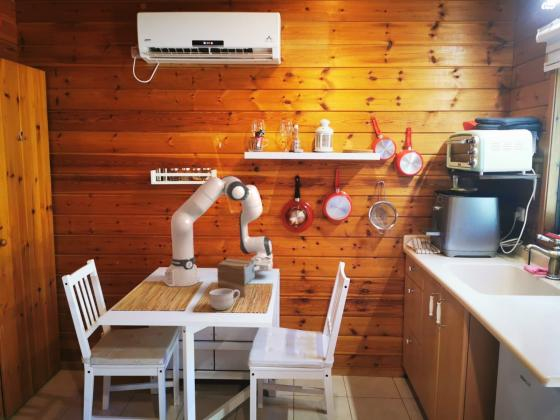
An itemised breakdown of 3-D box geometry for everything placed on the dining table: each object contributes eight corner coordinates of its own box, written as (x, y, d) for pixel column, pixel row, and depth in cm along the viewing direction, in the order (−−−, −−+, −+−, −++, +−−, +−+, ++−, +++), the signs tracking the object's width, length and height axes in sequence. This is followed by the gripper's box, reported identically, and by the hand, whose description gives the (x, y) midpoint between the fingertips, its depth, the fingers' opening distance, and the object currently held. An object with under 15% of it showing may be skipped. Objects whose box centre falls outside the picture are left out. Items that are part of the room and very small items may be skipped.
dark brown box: (228, 287, 231) (228, 258, 229) (254, 289, 227) (253, 260, 225) (218, 294, 220) (217, 264, 218) (244, 297, 215) (243, 266, 213)
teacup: (210, 313, 195) (209, 295, 194) (209, 305, 206) (208, 288, 204) (242, 310, 198) (241, 293, 197) (239, 302, 208) (238, 286, 207)
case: (248, 276, 244) (248, 260, 242) (254, 276, 243) (254, 260, 241) (238, 283, 230) (238, 266, 229) (244, 284, 229) (244, 267, 228)
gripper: (241, 256, 255) (231, 262, 242) (274, 258, 248) (266, 264, 235) (241, 266, 255) (231, 273, 242) (275, 269, 249) (266, 276, 236)
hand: (248, 269), depth 239 cm, fingers closed on case, 3 cm apart
